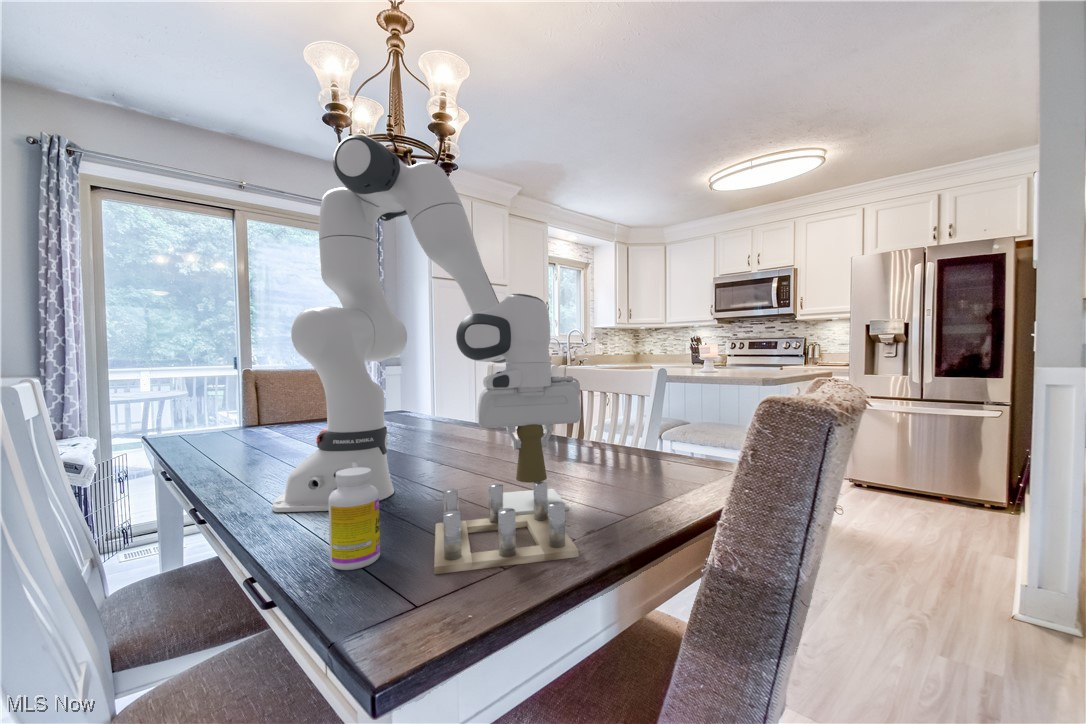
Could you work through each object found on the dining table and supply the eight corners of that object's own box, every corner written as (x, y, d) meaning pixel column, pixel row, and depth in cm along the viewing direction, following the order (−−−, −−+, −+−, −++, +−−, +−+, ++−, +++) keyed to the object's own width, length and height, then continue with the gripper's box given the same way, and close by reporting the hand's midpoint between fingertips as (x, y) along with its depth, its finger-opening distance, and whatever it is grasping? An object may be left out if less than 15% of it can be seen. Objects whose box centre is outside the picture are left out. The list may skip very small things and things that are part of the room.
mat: (504, 516, 81) (504, 512, 81) (496, 496, 93) (496, 493, 93) (568, 510, 84) (568, 506, 84) (553, 491, 95) (552, 488, 95)
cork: (548, 474, 91) (546, 419, 91) (545, 482, 85) (543, 424, 85) (518, 474, 91) (517, 420, 91) (513, 482, 85) (512, 424, 85)
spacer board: (434, 574, 60) (434, 566, 60) (435, 529, 75) (435, 523, 75) (578, 556, 64) (578, 549, 64) (551, 517, 80) (551, 512, 80)
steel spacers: (444, 564, 60) (443, 520, 60) (443, 523, 75) (442, 487, 75) (569, 550, 64) (568, 508, 64) (544, 513, 79) (544, 479, 79)
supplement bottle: (384, 564, 63) (382, 472, 63) (332, 576, 60) (330, 480, 59) (375, 547, 69) (374, 463, 69) (327, 557, 65) (325, 469, 65)
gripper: (575, 375, 93) (576, 441, 93) (475, 378, 89) (477, 448, 89) (584, 376, 87) (586, 447, 87) (478, 380, 82) (480, 455, 83)
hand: (530, 448), depth 88 cm, fingers closed on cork, 4 cm apart
